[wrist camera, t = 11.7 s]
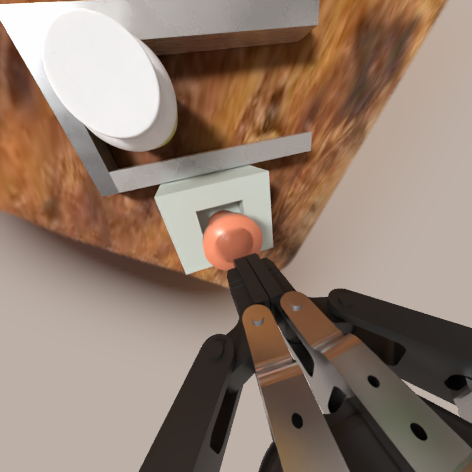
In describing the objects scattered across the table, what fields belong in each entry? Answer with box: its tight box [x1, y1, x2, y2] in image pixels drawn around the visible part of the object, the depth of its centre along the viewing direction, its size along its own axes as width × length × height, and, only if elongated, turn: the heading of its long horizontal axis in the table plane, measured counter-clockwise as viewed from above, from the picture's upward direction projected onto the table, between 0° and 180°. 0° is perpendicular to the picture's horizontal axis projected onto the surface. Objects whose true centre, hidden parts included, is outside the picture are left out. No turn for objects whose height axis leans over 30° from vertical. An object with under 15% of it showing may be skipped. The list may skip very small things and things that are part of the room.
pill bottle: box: [42, 8, 178, 152], centre depth 13 cm, size 6×6×11 cm
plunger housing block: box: [154, 165, 273, 274], centre depth 20 cm, size 10×9×8 cm
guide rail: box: [0, 0, 319, 197], centre depth 17 cm, size 24×12×3 cm, turn 99°
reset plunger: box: [202, 210, 263, 270], centre depth 15 cm, size 5×5×4 cm
